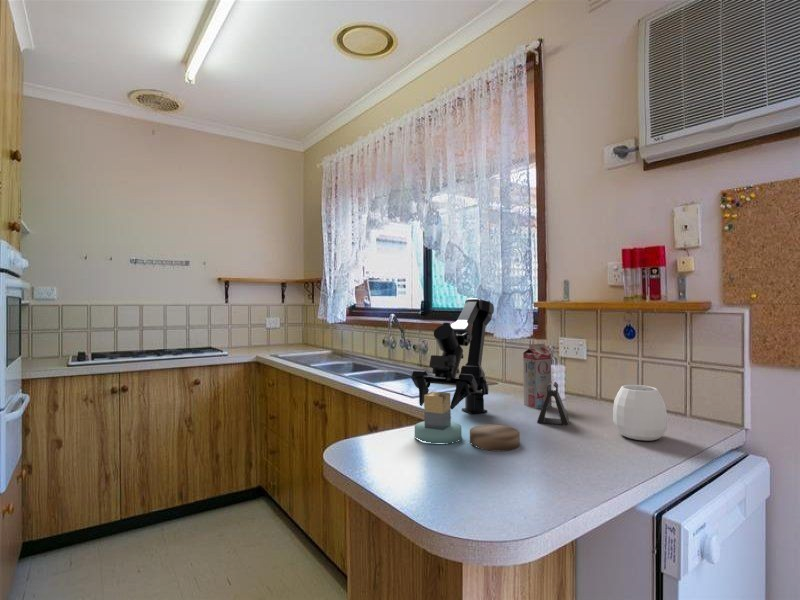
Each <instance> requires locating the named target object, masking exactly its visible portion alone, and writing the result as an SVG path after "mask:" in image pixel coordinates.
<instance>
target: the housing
mask: <svg viewBox="0 0 800 600" xmlns="http://www.w3.org/2000/svg"><path fill="white" fill-rule="evenodd" d="M423 406H424V409H423V411H424V414H423V415H424V420H423V421H425V428H430V429H437V430H444V429H446V428H447V427H449V426H450V425H451V421H452V420H451V416H452V414H451V411H452V409H451V408H450V406H451V392H441V391H429V392H428V394H426V395H424V403H423Z"/></svg>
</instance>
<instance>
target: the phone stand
mask: <svg viewBox="0 0 800 600" xmlns="http://www.w3.org/2000/svg"><path fill="white" fill-rule="evenodd" d="M552 383H553V387H554V388H555V389H552V388H551V389H550V387H549V386H551V387H552ZM550 397H551V398H553V397H554V401H555V405H556V408H557V411H558V415H559V418H554V417H546V414H547V409H548V408H549V407H548V403H549V399H550ZM536 423H537V424H542V425H543V424H544V425H553V426H554V425H555V426H564V425H565V426H566V427H568V426H569V423H570V419H569V416H568V414H567V411H566V408H565V406H564V403H563V400H562V398H561V396H560V393H559V384H558V382H556V381H554V382H553V381H552V380H551V382H550V383H549V384H548V387H547V396H546V399H545V402H544V404H543V407H542V408H541V410H540V412H539V415H538V418H537V420H536Z"/></svg>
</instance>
